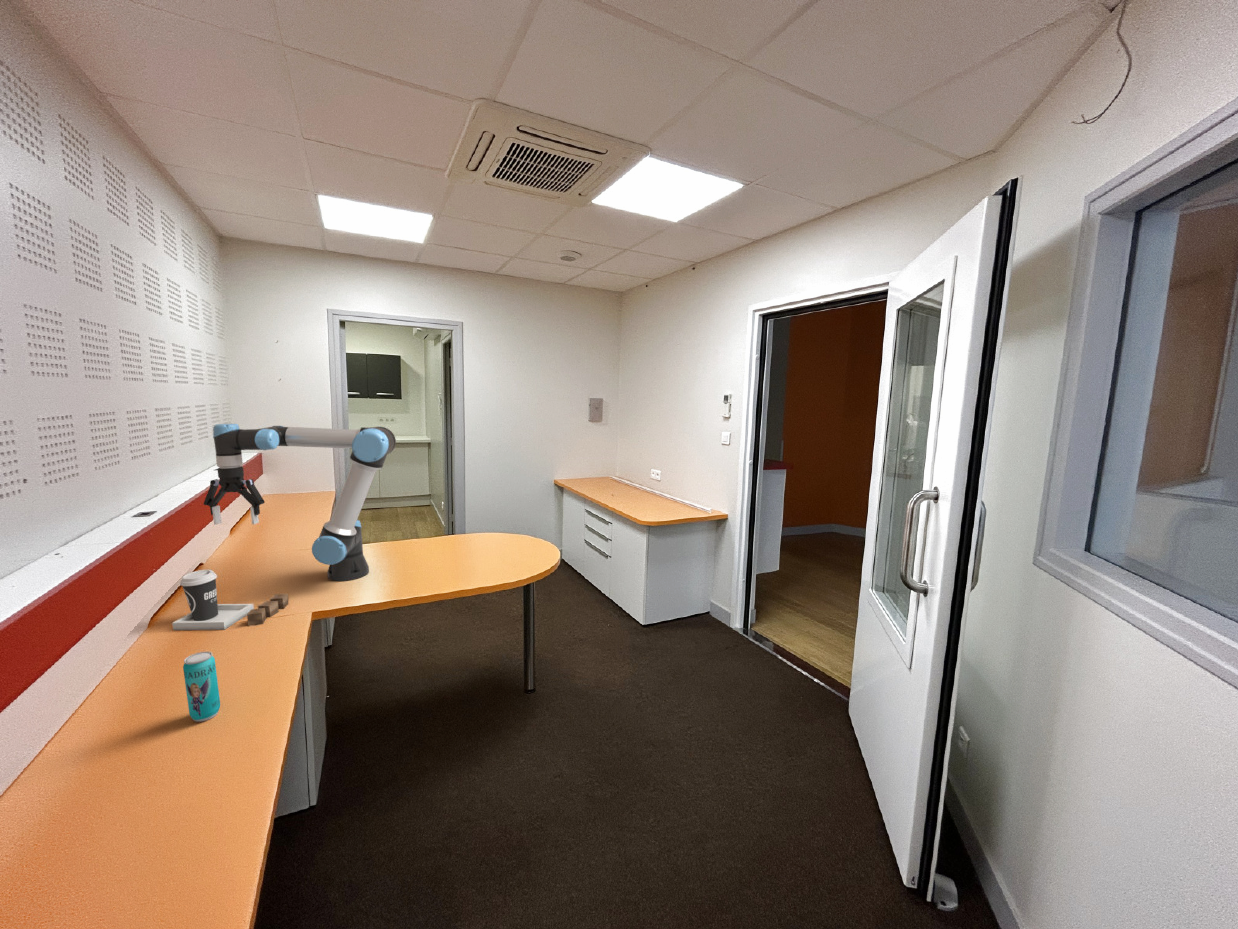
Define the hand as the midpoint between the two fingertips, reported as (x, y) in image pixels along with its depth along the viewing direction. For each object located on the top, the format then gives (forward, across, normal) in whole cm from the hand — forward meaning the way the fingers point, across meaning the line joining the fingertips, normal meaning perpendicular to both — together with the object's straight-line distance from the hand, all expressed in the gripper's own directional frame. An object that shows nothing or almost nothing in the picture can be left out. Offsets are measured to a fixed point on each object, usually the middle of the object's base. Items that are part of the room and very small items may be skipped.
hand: (236, 523), depth 190 cm
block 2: (+27, -21, +19) cm, 39 cm away
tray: (+27, -6, +23) cm, 36 cm away
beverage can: (+27, -41, +74) cm, 89 cm away
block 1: (+27, -21, +25) cm, 42 cm away
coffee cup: (+26, -3, +22) cm, 34 cm away
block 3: (+27, -21, +13) cm, 36 cm away
